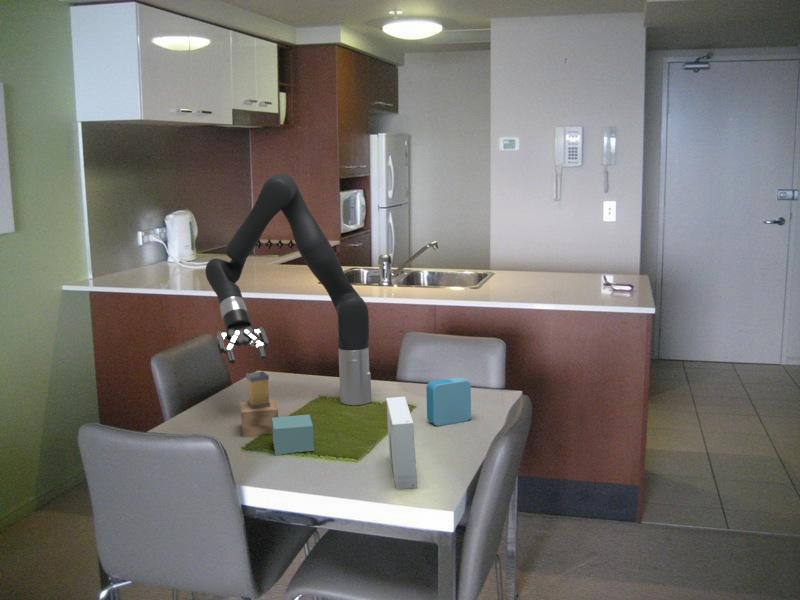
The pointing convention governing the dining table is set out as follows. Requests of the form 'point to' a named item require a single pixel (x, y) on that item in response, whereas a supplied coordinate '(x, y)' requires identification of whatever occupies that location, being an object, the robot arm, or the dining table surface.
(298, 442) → the stand
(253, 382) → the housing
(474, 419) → the dining table surface
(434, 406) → the blue rounded flat block
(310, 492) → the dining table surface
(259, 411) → the stand
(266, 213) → the robot arm
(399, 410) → the skincare box
